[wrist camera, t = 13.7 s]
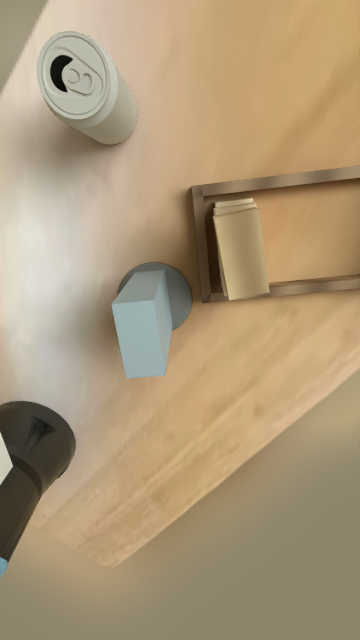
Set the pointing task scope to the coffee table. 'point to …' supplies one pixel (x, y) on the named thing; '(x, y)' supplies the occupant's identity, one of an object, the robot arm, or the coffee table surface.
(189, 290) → the coaster
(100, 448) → the coffee table surface
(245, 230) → the offcut
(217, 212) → the offcut
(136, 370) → the light blue block
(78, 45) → the beverage can
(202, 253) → the rack
